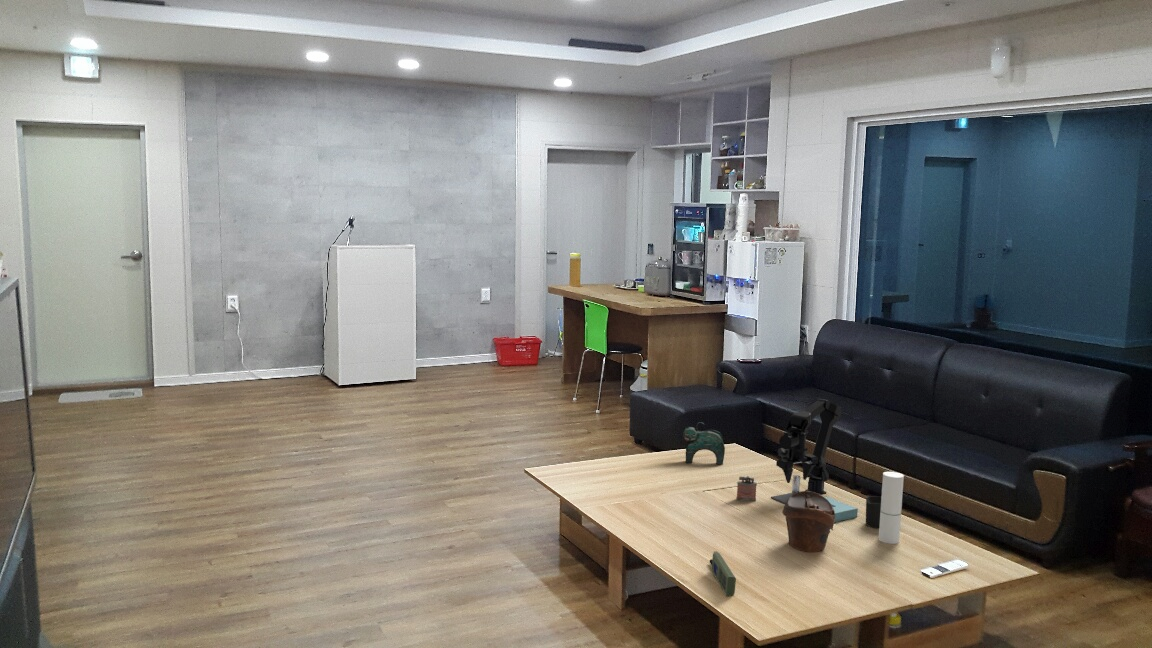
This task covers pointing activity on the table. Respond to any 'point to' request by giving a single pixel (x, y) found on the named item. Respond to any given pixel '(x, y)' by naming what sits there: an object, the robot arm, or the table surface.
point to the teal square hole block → (842, 510)
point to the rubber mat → (782, 497)
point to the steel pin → (795, 484)
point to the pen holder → (873, 511)
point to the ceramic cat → (703, 443)
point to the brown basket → (808, 520)
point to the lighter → (746, 489)
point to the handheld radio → (723, 574)
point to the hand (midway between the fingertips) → (796, 481)
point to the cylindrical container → (891, 507)
